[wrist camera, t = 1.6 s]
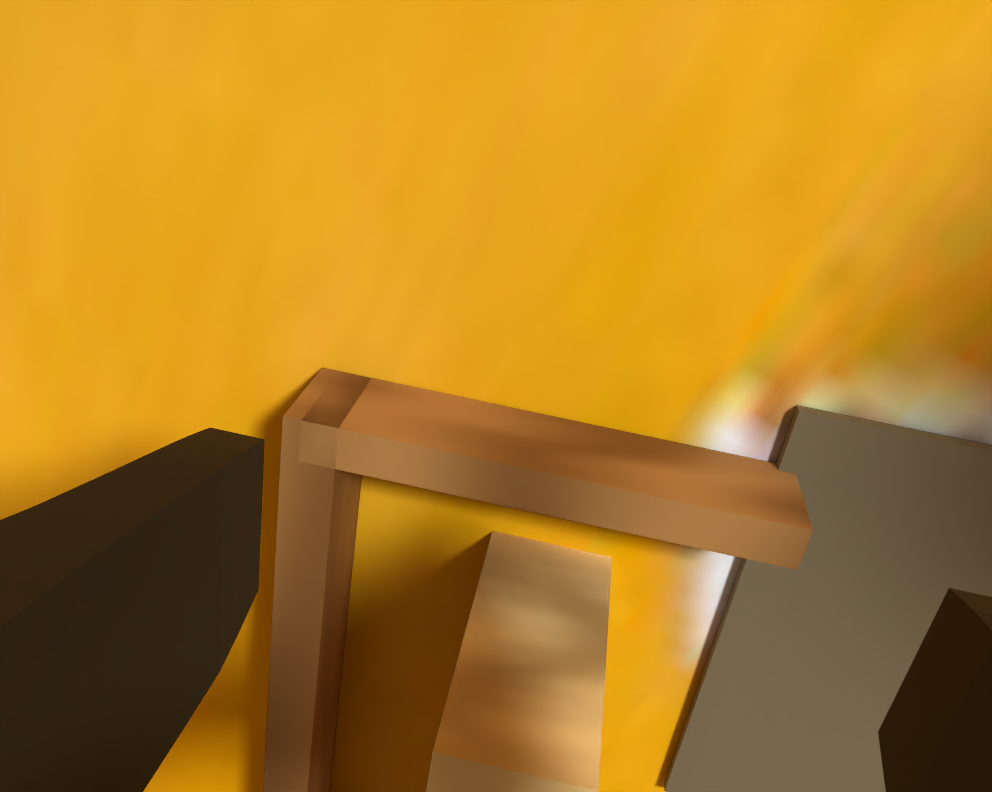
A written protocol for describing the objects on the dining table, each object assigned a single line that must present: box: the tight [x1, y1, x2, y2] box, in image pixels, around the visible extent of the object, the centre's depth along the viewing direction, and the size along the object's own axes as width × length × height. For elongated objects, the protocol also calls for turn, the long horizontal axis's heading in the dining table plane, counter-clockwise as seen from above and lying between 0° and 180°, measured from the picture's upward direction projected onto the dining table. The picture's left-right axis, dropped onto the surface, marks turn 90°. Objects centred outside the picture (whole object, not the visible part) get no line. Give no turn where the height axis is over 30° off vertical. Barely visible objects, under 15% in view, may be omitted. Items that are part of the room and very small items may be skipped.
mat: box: [664, 405, 992, 792], centre depth 22 cm, size 9×12×1 cm
